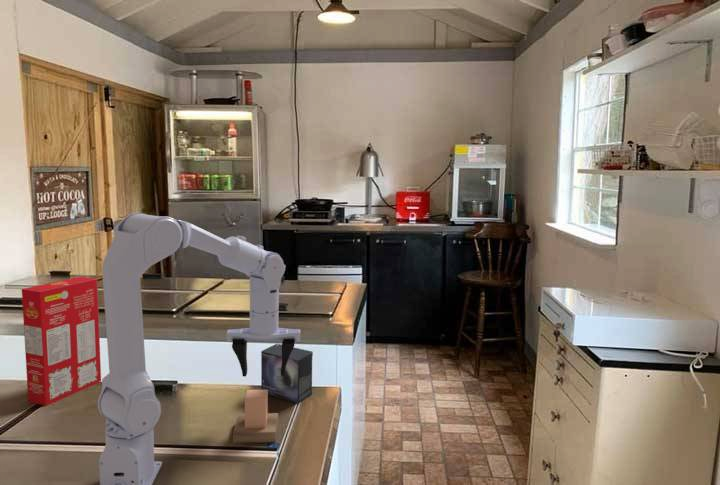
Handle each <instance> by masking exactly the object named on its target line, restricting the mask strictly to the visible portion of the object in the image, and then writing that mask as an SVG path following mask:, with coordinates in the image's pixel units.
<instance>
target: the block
mask: <svg viewBox="0 0 720 485" xmlns="http://www.w3.org/2000/svg"><path fill="white" fill-rule="evenodd" d="M268 397H269V395H268V390H261V389H247V390H246V394H245V396H244V414H245V428H266V424H267V419H268V413H269V410H268V409H269V408H268V407H269V406H268V404H269V402H268V400H269V398H268Z"/></svg>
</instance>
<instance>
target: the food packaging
mask: <svg viewBox="0 0 720 485" xmlns="http://www.w3.org/2000/svg"><path fill="white" fill-rule="evenodd" d="M98 290H99V289H98V278H93V277H85V276H78V277H77V276H76V277H73V278H68V279H64V280H58V281H54V282H50V283H49V282H48V283H43V284H40V285H35V286H30V287H26V288H22V289H21V299H22V302H21V303H22V312H23V313H22V317H23V331H24V332H23V335H24V350H25V352H24V354H25V371H26V382H27V383H26V385H27V402H29V403H33V404H37V405H40V406H45V407H47V406H49V405H51V404H55V402H58V401H61V400H62V399H65V398H67V397H69V396H71V395H74V394H77V393H79V392H80V391H82V390H84V389H85V390H86V389H87V388H89V387H91V386H93V385H96V384H98V383H100V382H102V371H101V370H102V368H101V367H102V366H101V344H100V319H99V318H100V317H99V316H100V315H99V291H98Z"/></svg>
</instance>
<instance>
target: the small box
mask: <svg viewBox="0 0 720 485" xmlns="http://www.w3.org/2000/svg"><path fill="white" fill-rule="evenodd" d="M313 352H314V351H310V350H308V349H303V348H298V347H294V348H293V350H292V352H291V354H290V356H289V359H288V361H287V365H286V368H285V376H281V366H282V343H281V344H280V343H274V345H271V346H269V347H267V348H265V349H263V350H261V354H260V355H261V356H260V357H261V358H260V359H261V360H260V361H261V362H260V364H261V365H260V366H261V368H260V369H261V371H260V372H261V373H260V374H261V375H260V377H261V378H260V379H261V387H260V390H268V396H270V397H274V398H277V399H281V400H284V401H288V402H291V403H294V404H299V403H301V402H303V401H304V400H305V399H307V398H309V397H310V396H311V395H313V355H314V354H313Z"/></svg>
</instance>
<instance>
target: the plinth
mask: <svg viewBox="0 0 720 485" xmlns="http://www.w3.org/2000/svg"><path fill="white" fill-rule="evenodd" d="M278 426H279V412H272V413H271V412H268V419H267V424H266V428H245V413H238V414H237V418H236V421H235V425H234V426H233V427H234V428H233V432H232V444H239V443H240V444H241V443H244V444H245V443H276V442H277V432H278V428H279V427H278Z"/></svg>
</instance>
